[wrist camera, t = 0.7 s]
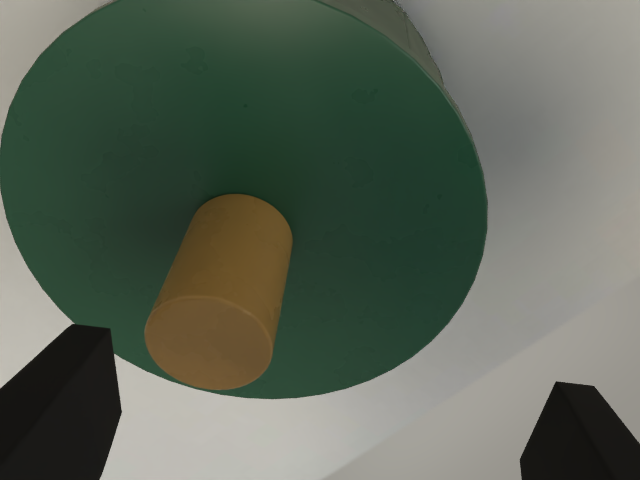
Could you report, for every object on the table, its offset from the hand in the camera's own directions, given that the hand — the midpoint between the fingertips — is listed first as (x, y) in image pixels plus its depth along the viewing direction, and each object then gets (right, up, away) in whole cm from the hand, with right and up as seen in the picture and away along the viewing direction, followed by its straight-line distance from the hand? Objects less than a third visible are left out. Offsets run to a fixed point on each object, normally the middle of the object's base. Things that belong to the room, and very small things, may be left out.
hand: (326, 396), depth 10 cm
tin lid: (-2, +3, +4) cm, 6 cm away
